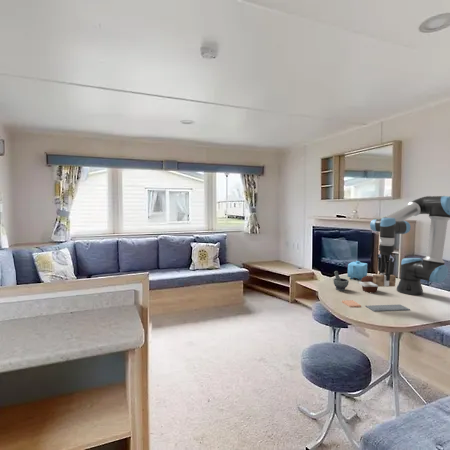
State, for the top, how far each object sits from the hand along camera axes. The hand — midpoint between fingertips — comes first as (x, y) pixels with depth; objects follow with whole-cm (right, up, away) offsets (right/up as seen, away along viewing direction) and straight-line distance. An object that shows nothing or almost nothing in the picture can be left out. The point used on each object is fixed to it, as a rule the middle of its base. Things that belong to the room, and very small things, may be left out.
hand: (384, 284), depth 180 cm
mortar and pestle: (-14, -10, +34) cm, 38 cm away
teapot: (+11, -8, +64) cm, 66 cm away
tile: (-15, -12, +3) cm, 19 cm away
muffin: (+6, -10, +32) cm, 34 cm away
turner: (-4, 0, 0) cm, 4 cm away
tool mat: (0, -13, -3) cm, 13 cm away
